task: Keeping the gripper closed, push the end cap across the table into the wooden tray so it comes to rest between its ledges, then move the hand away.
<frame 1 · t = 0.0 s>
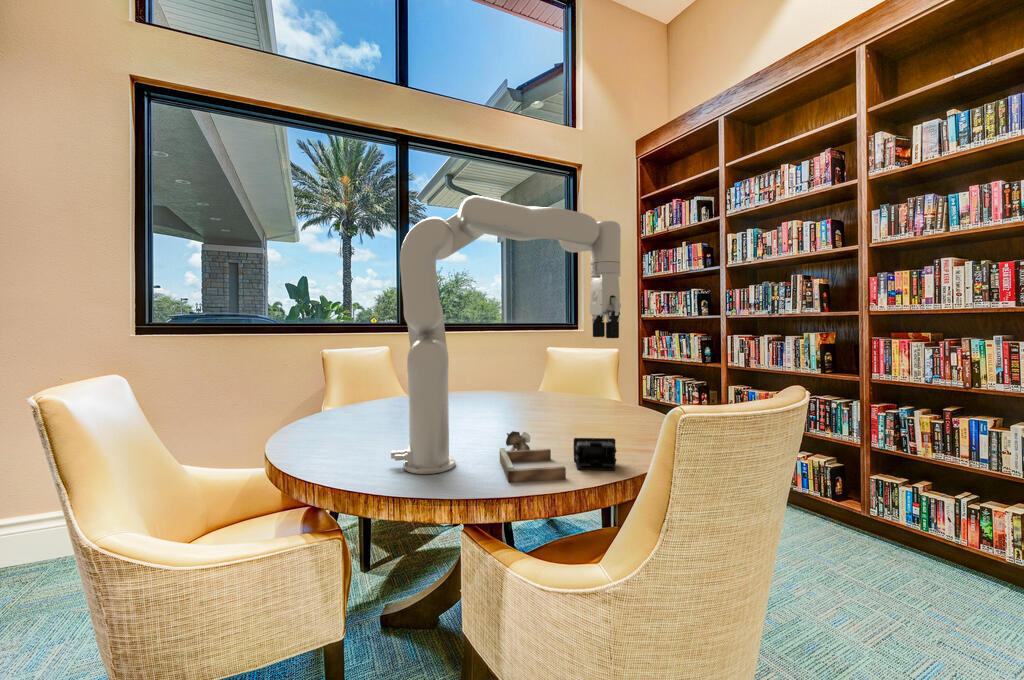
hand: (605, 337, 114), 31 cm above the table, tool pointing down, fingers open, 9 cm apart
wooden tray: (530, 469, 106), on the table
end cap: (594, 467, 108), on the table
squirrel figurine: (517, 454, 119), on the table
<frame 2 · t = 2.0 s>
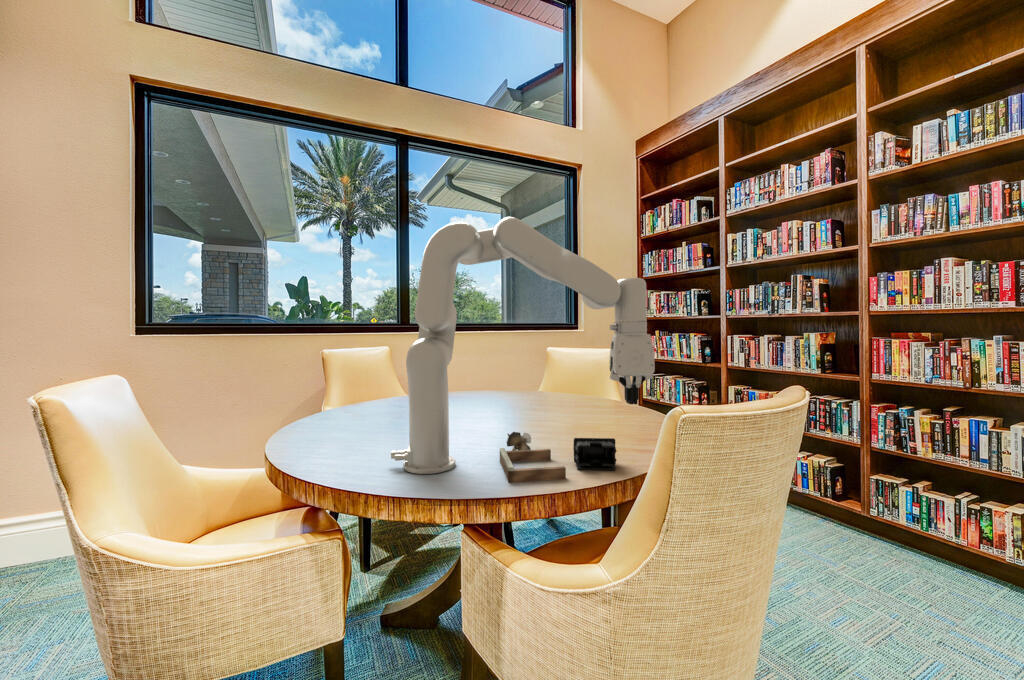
hand: (631, 403, 109), 15 cm above the table, tool pointing down, fingers closed
squirrel figurine: (518, 455, 118), on the table, touching wooden tray
everything else where it was.
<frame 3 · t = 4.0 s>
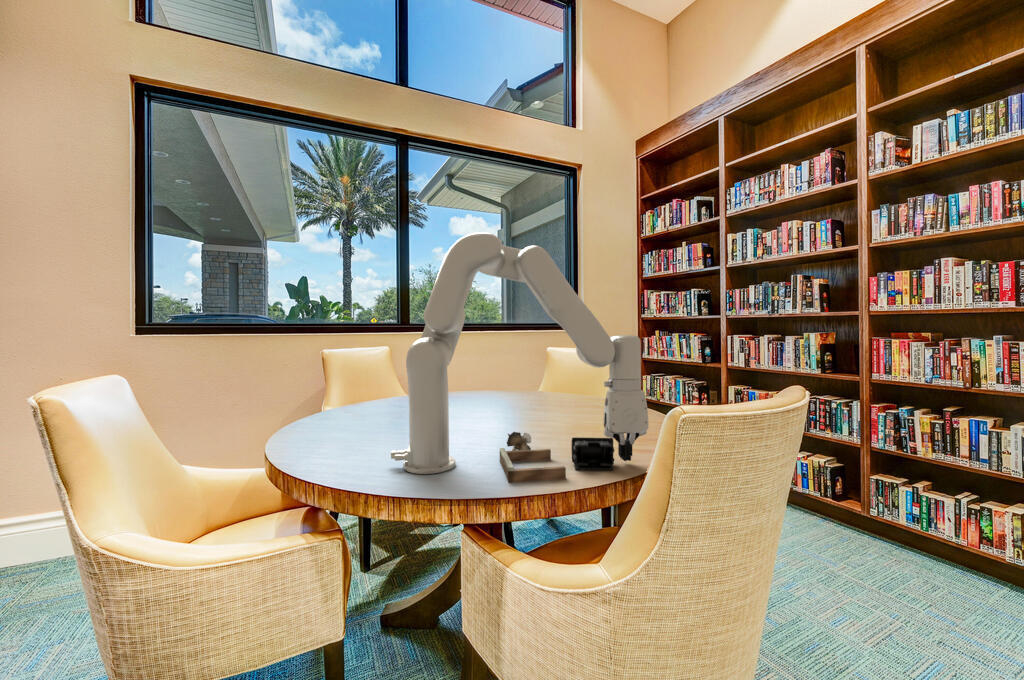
hand: (625, 459, 109), 1 cm above the table, tool pointing down, fingers closed
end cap: (592, 466, 108), on the table, touching gripper
everything else where it was.
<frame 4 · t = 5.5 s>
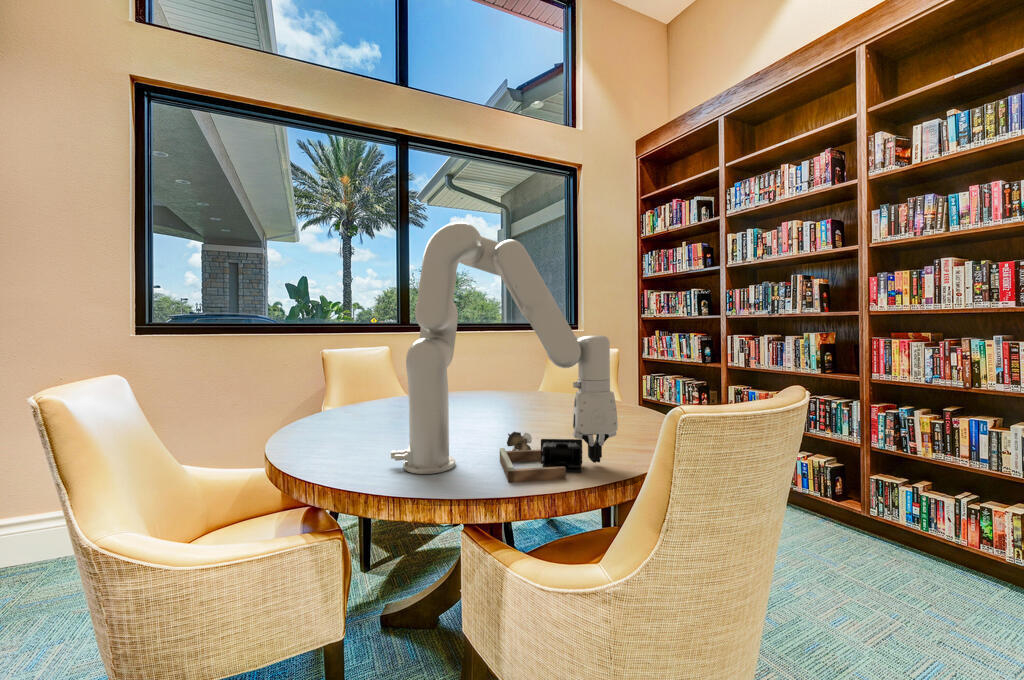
hand: (594, 460, 108), 1 cm above the table, tool pointing down, fingers closed
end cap: (561, 468, 107), on the table, touching gripper
squirrel figurine: (518, 455, 118), on the table
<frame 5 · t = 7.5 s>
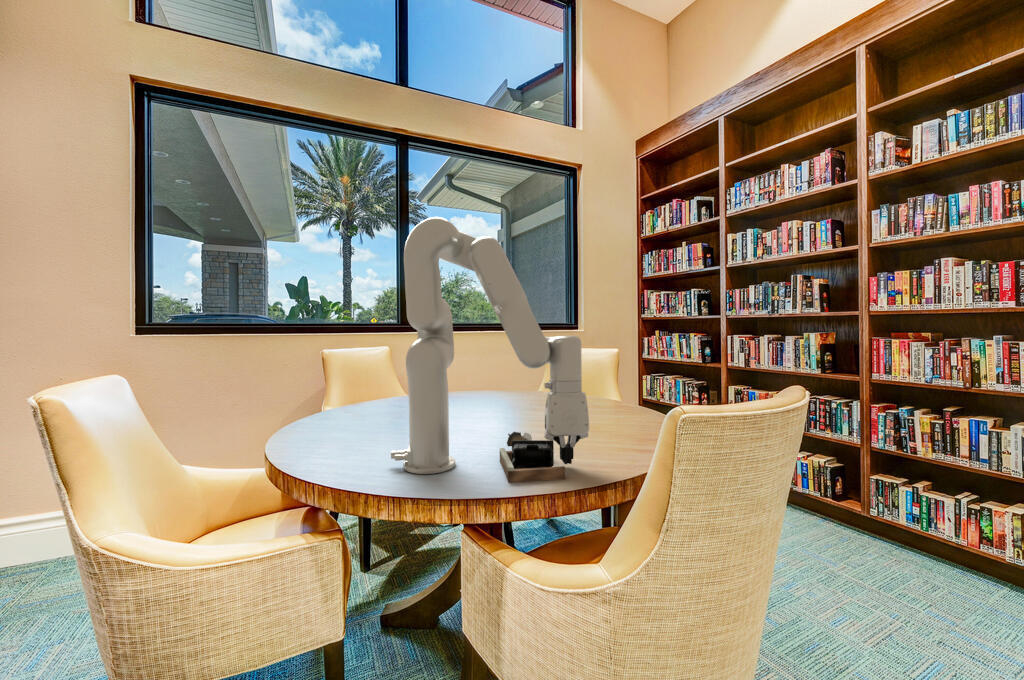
hand: (566, 462, 107), 1 cm above the table, tool pointing down, fingers closed
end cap: (532, 470, 106), on the table, touching gripper
everything else where it was.
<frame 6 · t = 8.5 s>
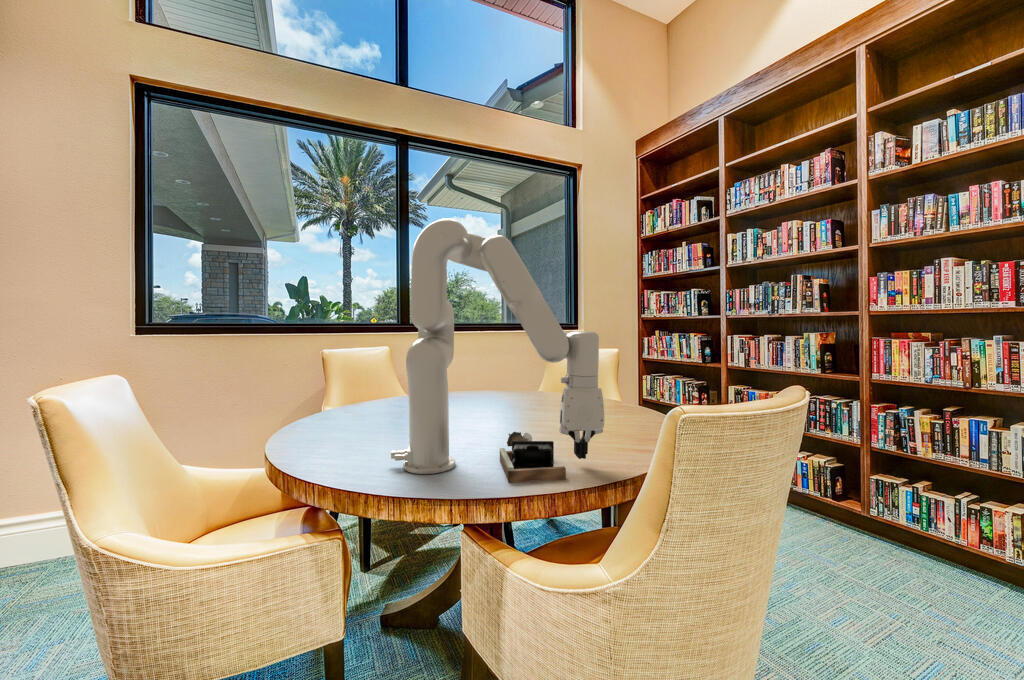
hand: (580, 457, 108), 2 cm above the table, tool pointing down, fingers closed
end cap: (532, 470, 106), on the table
everything else where it was.
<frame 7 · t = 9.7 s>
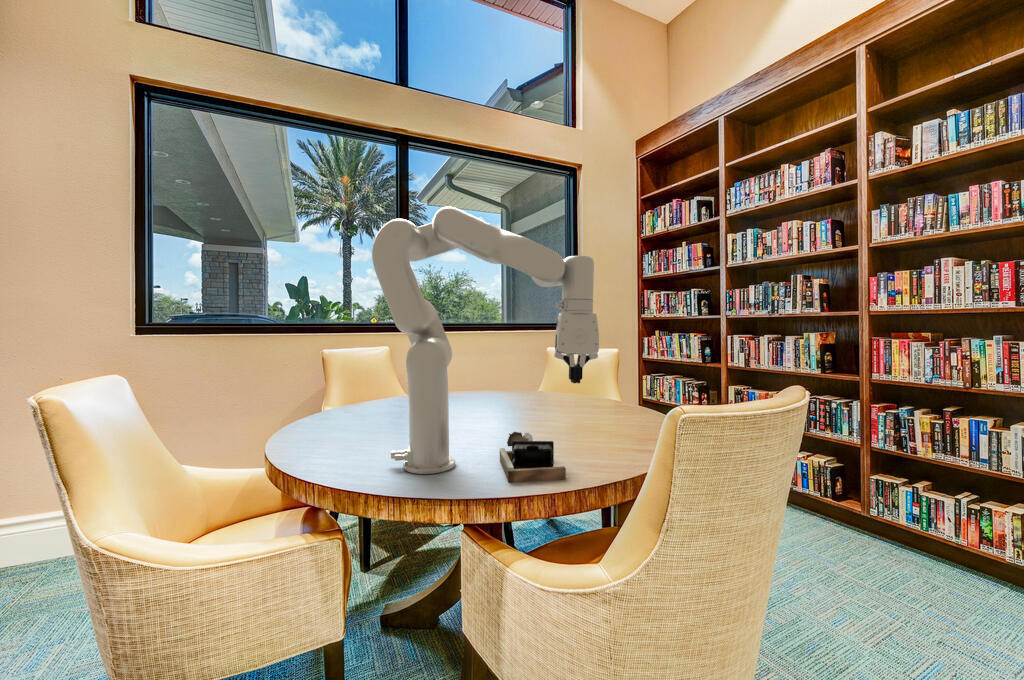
hand: (575, 382, 108), 20 cm above the table, tool pointing down, fingers closed
nothing on the table moved.
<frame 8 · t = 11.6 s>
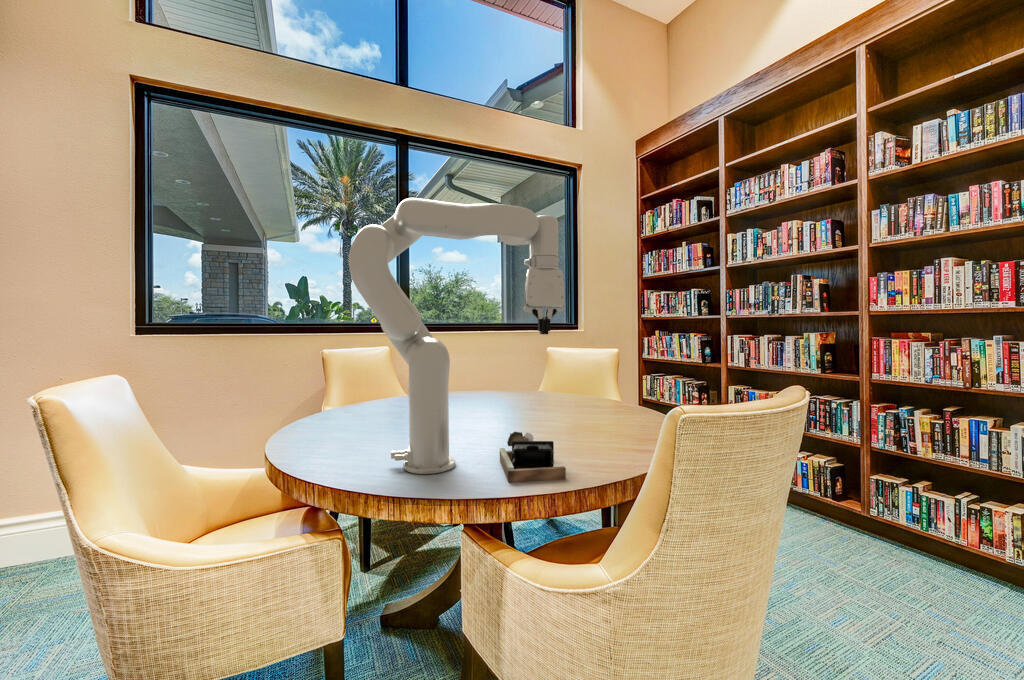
hand: (544, 334, 117), 32 cm above the table, tool pointing down, fingers closed
nothing on the table moved.
at the end: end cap inside the target area on the wooden tray (1.0 cm from its centre), point 0.0 cm above the wooden tray's base; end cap tilted 0° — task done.
